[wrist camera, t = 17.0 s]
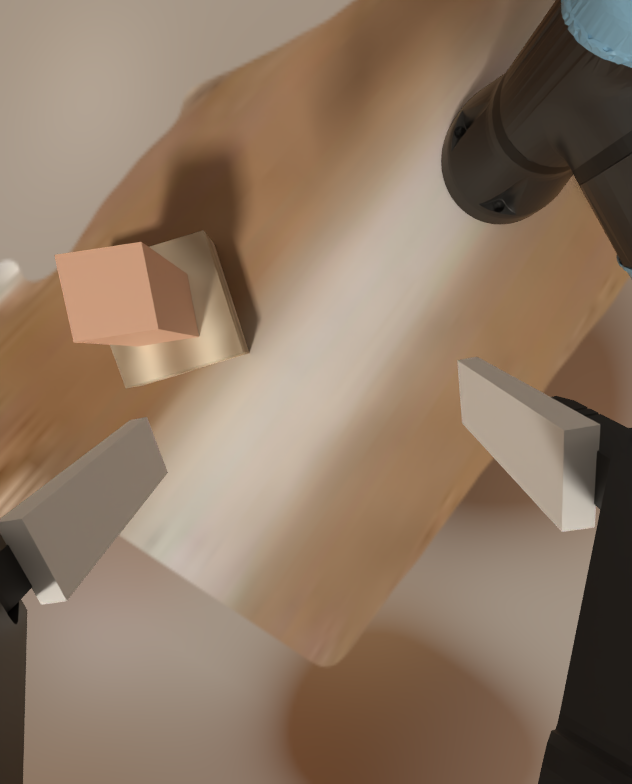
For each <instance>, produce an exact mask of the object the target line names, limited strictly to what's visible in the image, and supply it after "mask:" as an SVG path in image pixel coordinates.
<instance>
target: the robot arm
mask: <svg viewBox="0 0 632 784" xmlns="http://www.w3.org/2000/svg"><path fill="white" fill-rule="evenodd" d="M441 162H442V173H443V178H444V181H445V184H446V187H447V189H448V191H449V193H450V195H451V197H452V198H453V200H454V201H455V202H456V204H457V205H458V206H459V207H460V208H461V209H462V210H463V211H465V212H466V213H467V214H469V215H470V216H472V217H474V218H475V219H478V220H480V221H483V222H486V223H491V224H509V223H514V222H518V221H520V220H523V219H525V218H527V217H529V216H531V215H532V214H534V213H536V212H537V211H539V210H540V209H542V208H543V207H545V206H546V205H547V204H549V203H550V202H551V201H552V200H553V199H554V198H555V197H556V196H557V195H558V194H559V193H560V192H561V190H562V189H563V187H564V186H565V185H566V183H567V182H568V181H569V179H570V178H571V176H572V175H573V174H574V176H575V178H576V180H577V182H578V183H579V185H580V188H581V189H582V191H583V193H584V195H585V197H586V198H587V200H588V202H589V204H590V206H591V208H592V209H593V211H594V213H595V215H596V217H597V218H598V220H599V222H600V224H601V226H602V228H603V229H604V231H605V233H606V235H607V237H608V238H609V240H610V242H611V244H612V246H613V248H614V249H615V251H616V253H617V261H618V264H619V265H620V267H622V268H623V269H624V270H625V271H627V272H628V274H629V276H630V277H631V279H632V0H556V1H555V3H554V4H553V6H552V7H551V8H550V10H549V11H548V13H547V14H546V16H545V17H544V19H543V20H542V21H541V23H540V24H539V26H538V27H537V29H536V30H535V31H534V33H533V34H532V36H531V37H530V39H529V40H528V42H527V43H526V44H525V46H524V47H523V49H522V50H521V52H520V53H519V55H518V56H517V57H516V59H515V60H514V62H513V63H512V65H511V66H510V68H509V69H508V70H507V72H506V73H505V74H503V75H502V76H500V77H499V78H498V79H496V80H495V81H493V82H492V83H490V84H489V85H488V86H486V87H485V88H483V89H482V90H480V91H479V92H478V93H476V94H475V95H474V96H473V97H472V98H471V99H470V100H469V101H468V102H467V103H466V104H465V105H464V107H463V108H462V109H461V111H460V112H459V114H458V115H457V117H456V118H455V120H454V121H453V123H452V125H451V126H450V128H449V130H448V132H447V135H446V138H445V141H444V144H443V149H442V160H441ZM457 361H458V374H459V387H460V401H461V414H462V423H463V424H464V426H465V427H466V428H467V429H468V430H469V431H470V432H471V433H472V434H473V435H474V436H475V438H476V439H477V440H478V441H479V442H480V443H481V444H482V445H483V446H484V447H485V448H486V450H487V451H488V452H489V453H490V454H491V455H492V456H493V457H494V458H495V459H496V461H497V462H498V463H499V464H500V465H501V466H502V467H503V468H504V469H505V470H506V471H507V473H508V474H509V475H510V476H511V477H512V478H513V479H514V480H515V481H516V482H517V483H518V484H519V486H520V487H521V488H522V489H523V490H524V491H525V492H526V493H527V494H528V495H529V497H531V499H532V500H533V501H534V502H535V503H536V504H537V505H538V506H539V507H540V509H541V510H542V511H543V512H544V513H545V514H546V515H547V516H548V517H549V518H550V519H551V520H552V522H553V523H554V524H555V525H556V526H557V527H558V528H559V529H560V530H561V531H562V532H564V531H571V530H578V529H586V528H593V527H595V512H596V506H597V507H598V508H599V509H600V515H599V520H598V525H597V530H596V535H595V540H594V545H593V550H592V555H591V560H590V565H589V570H588V575H587V580H586V585H585V590H584V595H583V600H582V605H581V610H580V615H579V620H578V625H577V630H576V635H575V640H574V645H573V650H572V655H571V661H570V665H569V670H568V675H567V680H566V685H565V691H564V696H563V701H562V706H561V710H560V715H559V719H558V724H557V726H556V729H555V730H552V731H551V734H550V737H549V740H548V742H547V746H546V751H545V755H544V759H543V763H542V768H541V772H540V778H539V782H538V784H632V428H627V427H625V426H623V425H621V424H619V423H617V422H615V421H613V420H611V419H609V418H607V417H605V416H603V415H601V414H598V412H596V411H594V410H592V409H587V407H586V406H584V405H582V404H580V403H578V402H576V401H574V400H570V399H565V398H562V397H558V396H554V397H549V396H547V395H546V394H544V393H542V392H540V391H538V390H537V389H535V388H533V387H531V386H529V385H527V384H526V383H524V382H522V381H520V380H518V379H517V378H515V377H513V376H511V375H509V374H507V373H506V372H504V371H502V370H500V369H498V368H497V367H495V366H493V365H491V364H489V363H487V362H486V361H484V360H482V359H480V358H478V357H473V358H468V359H462V360H457ZM167 473H168V472H167V469H166V467H165V464H164V461H163V459H162V456H161V453H160V451H159V448H158V445H157V443H156V440H155V437H154V435H153V432H152V429H151V427H150V424H149V421H148V419H147V417H145V418H139V419H134V420H130V421H128V422H127V423H126V424H124V425H123V426H122V427H121V428H119V429H118V430H117V431H115V432H114V433H113V434H111V435H110V436H109V437H107V438H106V439H105V440H103V441H102V442H101V443H99V444H98V445H97V446H95V447H94V448H93V449H91V450H90V451H89V452H88V453H86V454H85V455H84V456H82V457H81V458H80V459H78V460H77V461H76V462H74V463H73V464H72V465H70V466H69V467H68V468H66V469H65V470H64V471H62V472H61V473H60V474H58V475H57V476H56V477H54V478H53V479H52V480H51V481H49V482H48V483H47V484H45V485H44V486H43V487H41V488H40V489H39V490H37V491H36V492H35V493H33V494H32V495H31V496H29V497H28V498H27V499H25V500H24V501H23V502H21V503H20V504H19V505H18V506H16V507H15V508H14V509H12V510H11V511H10V512H8V513H7V514H6V515H4V516H3V517H2V518H0V784H23V755H24V717H25V716H24V714H25V675H26V639H27V638H26V637H27V609H26V607H25V605H24V604H23V602H22V600H21V598H22V597H23V596H24V595H25V594H26V593H27V592H28V591H29V590H30V589H31V588H32V589H33V591H34V593H35V595H36V596H37V598H38V600H39V601H40V603H41V604H48V603H56V602H63V601H67V600H68V599H69V598H70V596H71V595H72V594H73V592H74V591H75V590H76V588H77V587H78V586H79V585H80V584H81V582H82V581H83V580H84V578H85V577H86V576H87V575H88V573H89V572H90V571H91V570H92V568H93V567H94V566H95V564H96V563H97V562H98V561H99V559H100V558H101V557H102V555H103V554H104V553H105V552H106V550H107V549H108V548H109V547H110V545H111V544H112V543H113V542H114V540H115V539H116V538H117V536H118V535H119V534H120V533H121V531H122V530H123V529H124V528H125V526H126V525H127V524H128V522H129V521H130V520H131V519H132V517H133V516H134V515H135V514H136V512H137V511H138V510H139V508H140V507H141V506H142V505H143V503H144V502H145V501H146V500H147V498H148V497H149V496H150V494H151V493H152V492H153V491H154V489H155V488H156V487H157V486H158V484H159V483H160V482H161V481H162V479H163V478H164V477H165V475H166V474H167Z"/></svg>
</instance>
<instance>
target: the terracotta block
mask: <svg viewBox="0 0 632 784" xmlns="http://www.w3.org/2000/svg"><path fill="white" fill-rule="evenodd" d="M55 260H56V264H57V269H58V273H59V278H60V282H61V287H62V291H63V296H64V300H65V305H66V309H67V314H68V318H69V323H70V327H71V332H72V336H73V341H74V342H77V343H92V344H107V345H122V346H144V345H151V344H157V343H163V342H170V341H176V340H183V339H189V338H196V337H199V334H198V328H197V323H196V318H195V312H194V307H193V301H192V296H191V291H190V285H189V280H188V275H187V273H185V272H184V271H182V270H181V269H180V268H178V267H177V266H175V265H174V264H172V263H171V262H170V261H168V260H167V259H165V258H164V257H162V256H161V255H160V254H158V253H157V252H155V251H154V250H152V249H151V248H150V247H148V246H147V245H145V244H144V243H142V242H137V243H130V244H123V245H117V246H110V247H104V248H97V249H91V250H84V251H78V252H71V253H65V254H58V255H55Z"/></svg>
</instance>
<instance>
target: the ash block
mask: <svg viewBox="0 0 632 784" xmlns="http://www.w3.org/2000/svg"><path fill="white" fill-rule="evenodd" d="M150 248H151V249H152V250H154V251H155V252H157V253H158V254H160V255H161V256H162V257H164V258H165V259H167V260H168V261H170V262H171V263H172V264H174V265H175V266H177V267H178V268H180V269H181V270H182V271H184V272H185V273H187V275H188V280H189V285H190V291H191V296H192V301H193V307H194V312H195V318H196V323H197V328H198V334H199V337H196V338H189V339H183V340H176V341H170V342H163V343H157V344H151V345H144V346H122V345H110V346H111V349H112V352H113V355H114V357H115V360H116V363H117V366H118V368H119V371H120V374H121V377H122V379H123V382H124V385H125V388H126V389H127V388H132V387H137V386H143V385H146V384H150V383H153V382H156V381H160V380H163V379H166V378H169V377H173V376H176V375H179V374H183V373H186V372H189V371H192V370H196V369H199V368H202V367H205V366H209V365H212V364H215V363H219V362H222V361H225V360H228V359H232V358H235V357H238V356H242V355H245V354H248V353H249V350H248V347H247V344H246V341H245V338H244V335H243V332H242V329H241V325H240V322H239V319H238V316H237V313H236V310H235V307H234V304H233V301H232V297H231V294H230V291H229V288H228V285H227V282H226V279H225V276H224V273H223V269H222V266H221V263H220V260H219V257H218V254H217V251H216V248H215V245H214V243H213V241H212V240H211V239H210V238H209V236H208V235H207V234H206V233H205V231H204V230H202V231H199V232H196V233H193V234H189V235H186V236H183V237H179V238H176V239H173V240H170V241H166V242H163V243H160V244H156V245H153V246H150Z"/></svg>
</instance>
